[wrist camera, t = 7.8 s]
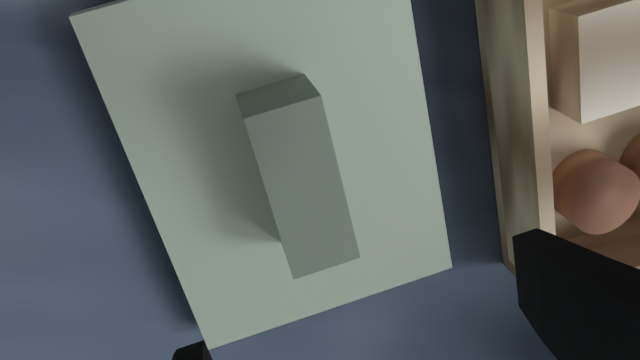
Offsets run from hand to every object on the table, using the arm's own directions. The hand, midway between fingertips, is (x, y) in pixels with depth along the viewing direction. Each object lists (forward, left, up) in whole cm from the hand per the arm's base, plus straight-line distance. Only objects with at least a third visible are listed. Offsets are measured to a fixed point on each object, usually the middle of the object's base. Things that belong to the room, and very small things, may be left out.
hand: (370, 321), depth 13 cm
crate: (-2, -13, -10) cm, 17 cm away
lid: (0, 0, -10) cm, 10 cm away
